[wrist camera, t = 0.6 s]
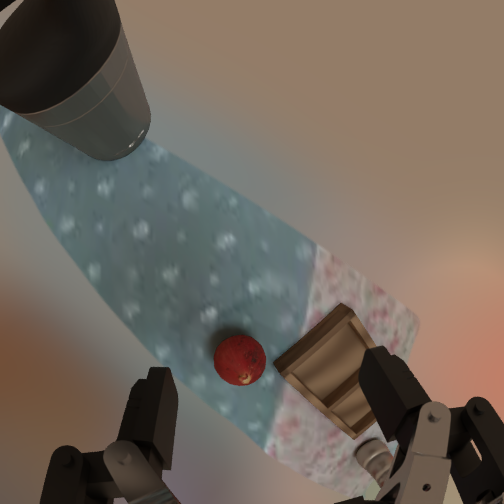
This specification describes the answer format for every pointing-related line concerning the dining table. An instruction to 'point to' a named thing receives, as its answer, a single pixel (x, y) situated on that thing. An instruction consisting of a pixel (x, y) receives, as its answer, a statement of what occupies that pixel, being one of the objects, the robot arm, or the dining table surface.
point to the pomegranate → (240, 360)
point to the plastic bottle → (375, 460)
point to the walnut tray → (332, 369)
